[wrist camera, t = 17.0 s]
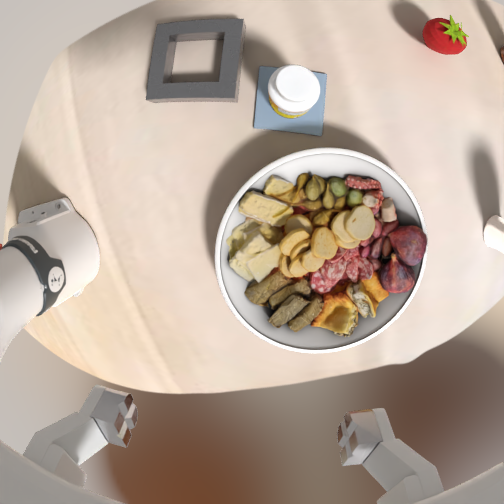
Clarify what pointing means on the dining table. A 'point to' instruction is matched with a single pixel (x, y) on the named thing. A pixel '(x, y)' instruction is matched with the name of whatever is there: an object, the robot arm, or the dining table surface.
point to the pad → (273, 121)
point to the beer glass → (494, 233)
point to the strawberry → (444, 36)
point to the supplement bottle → (293, 91)
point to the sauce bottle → (502, 53)
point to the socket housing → (192, 31)
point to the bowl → (321, 250)
